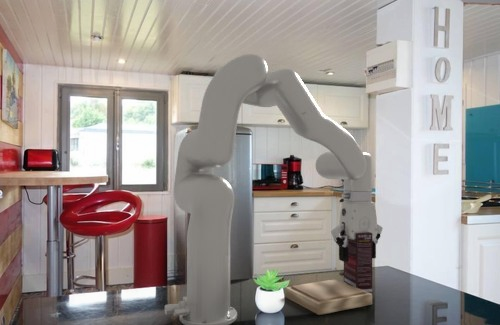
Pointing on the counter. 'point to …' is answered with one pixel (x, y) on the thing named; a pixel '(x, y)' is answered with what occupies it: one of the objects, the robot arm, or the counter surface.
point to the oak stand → (328, 296)
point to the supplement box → (359, 262)
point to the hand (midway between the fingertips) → (357, 259)
